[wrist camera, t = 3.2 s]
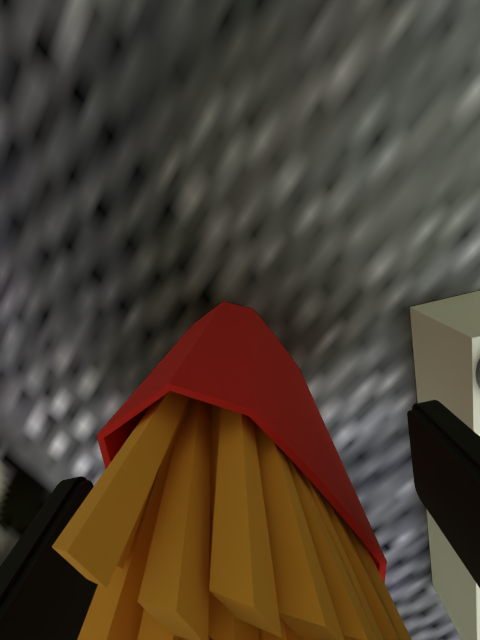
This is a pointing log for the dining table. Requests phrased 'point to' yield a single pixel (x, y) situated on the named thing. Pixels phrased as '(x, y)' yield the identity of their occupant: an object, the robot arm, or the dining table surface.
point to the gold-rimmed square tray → (470, 407)
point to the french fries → (226, 505)
